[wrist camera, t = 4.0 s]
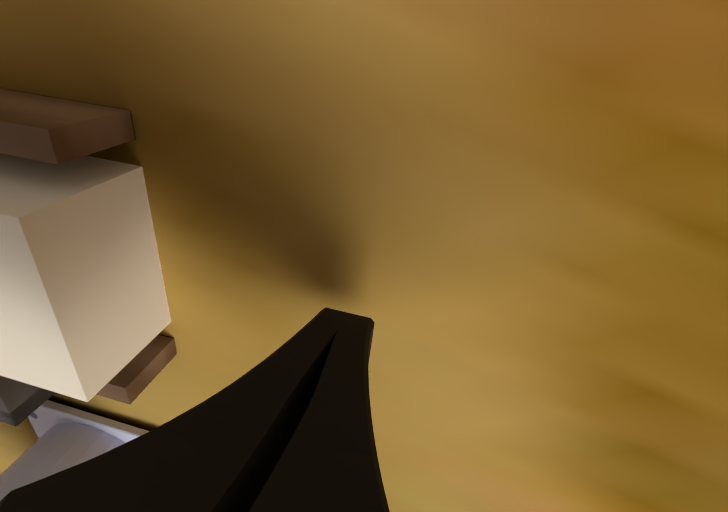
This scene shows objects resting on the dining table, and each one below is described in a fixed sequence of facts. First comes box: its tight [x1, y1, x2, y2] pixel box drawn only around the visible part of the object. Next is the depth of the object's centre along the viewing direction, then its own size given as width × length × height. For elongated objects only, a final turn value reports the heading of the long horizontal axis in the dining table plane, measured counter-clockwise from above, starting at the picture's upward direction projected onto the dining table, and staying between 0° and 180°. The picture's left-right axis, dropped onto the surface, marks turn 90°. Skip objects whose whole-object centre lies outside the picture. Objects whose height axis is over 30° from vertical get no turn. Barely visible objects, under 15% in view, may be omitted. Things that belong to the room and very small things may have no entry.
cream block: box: [0, 153, 171, 402], centre depth 12 cm, size 6×6×4 cm
